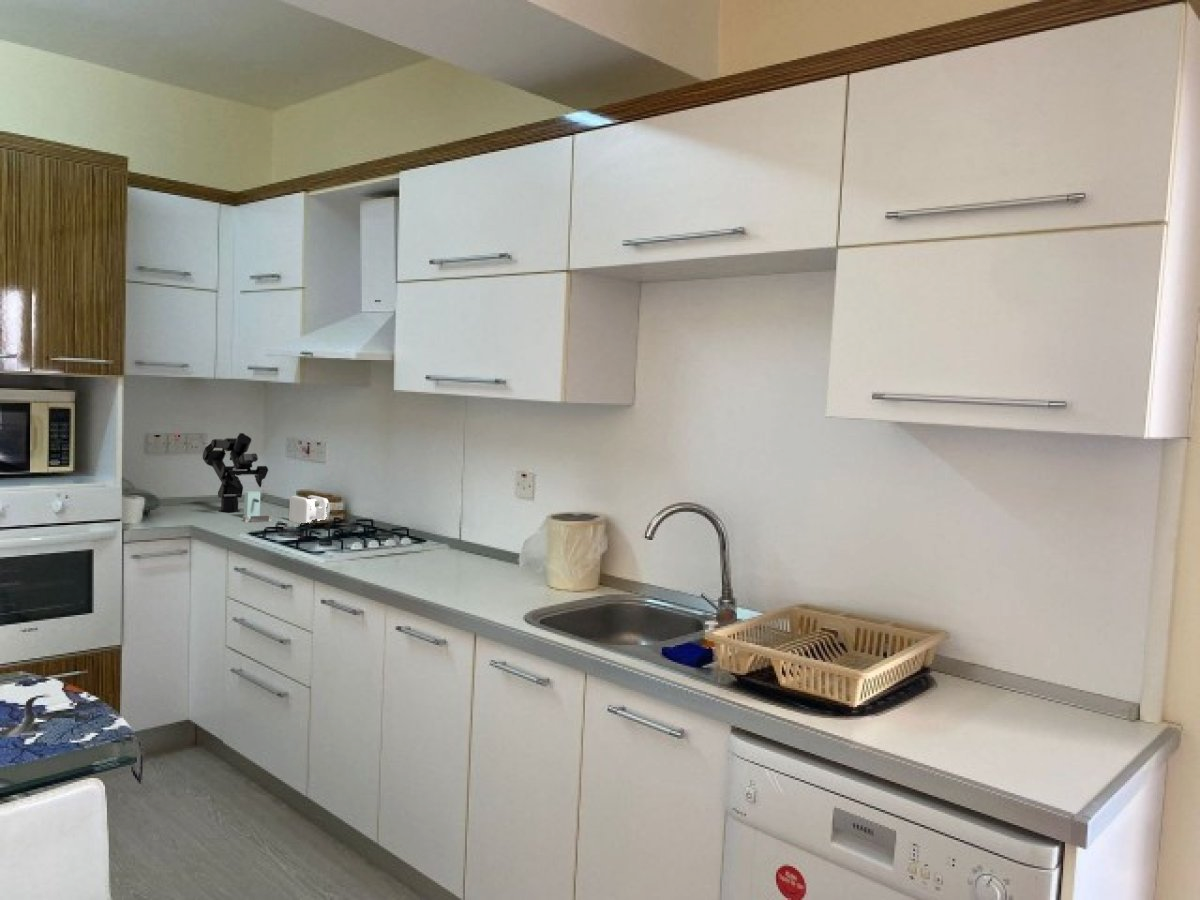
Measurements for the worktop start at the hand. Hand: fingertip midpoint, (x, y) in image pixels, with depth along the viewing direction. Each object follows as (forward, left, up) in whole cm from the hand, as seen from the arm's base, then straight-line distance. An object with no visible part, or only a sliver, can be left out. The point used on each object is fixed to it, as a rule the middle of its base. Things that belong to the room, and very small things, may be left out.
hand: (249, 486), depth 369 cm
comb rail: (+9, -7, -13) cm, 17 cm away
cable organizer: (+28, +3, -14) cm, 32 cm away
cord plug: (+9, -7, -12) cm, 16 cm away
